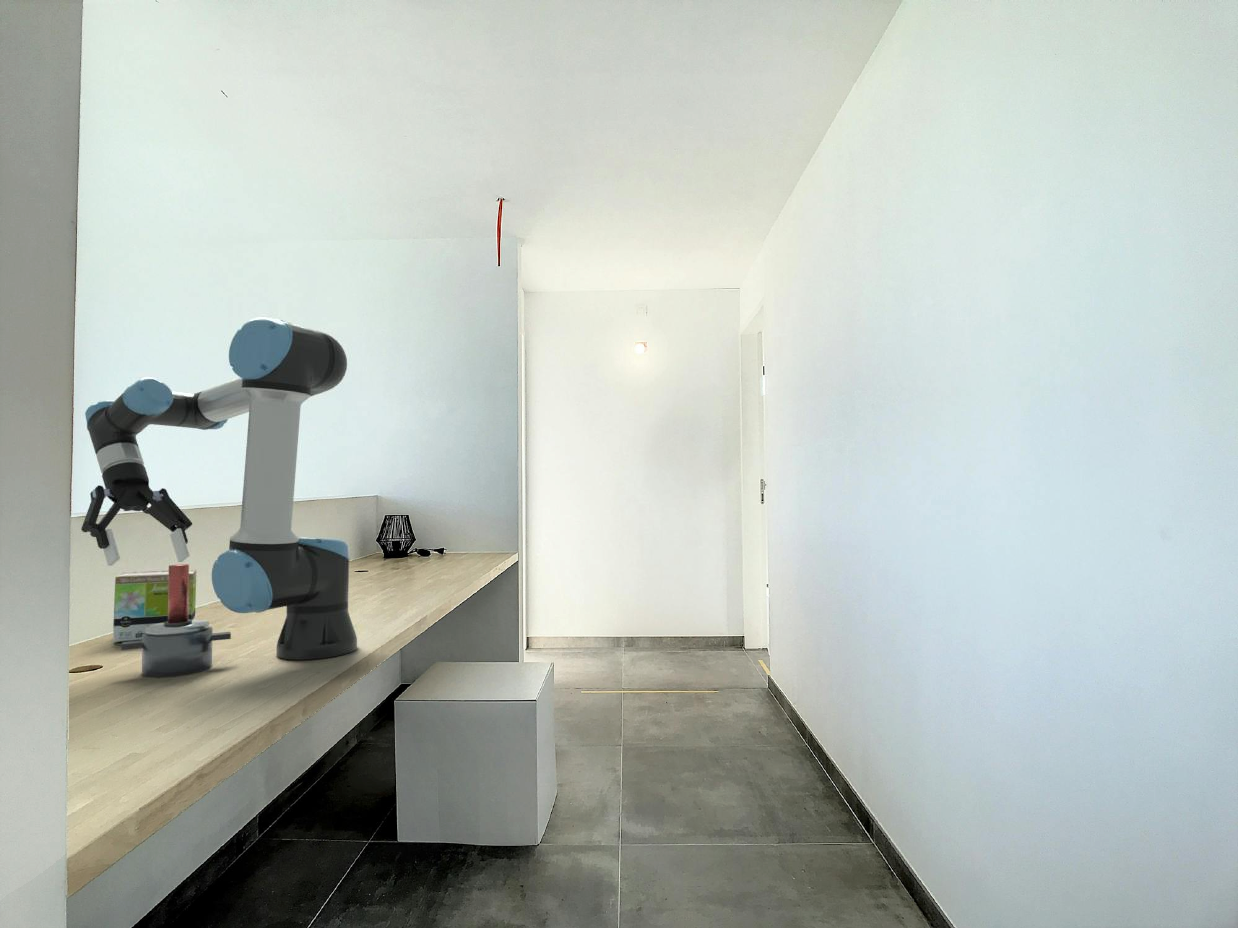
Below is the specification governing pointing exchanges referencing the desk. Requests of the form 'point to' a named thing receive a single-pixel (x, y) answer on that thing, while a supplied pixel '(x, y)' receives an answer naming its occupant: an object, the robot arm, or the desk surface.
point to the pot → (176, 653)
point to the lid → (177, 607)
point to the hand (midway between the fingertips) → (150, 560)
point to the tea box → (144, 602)
